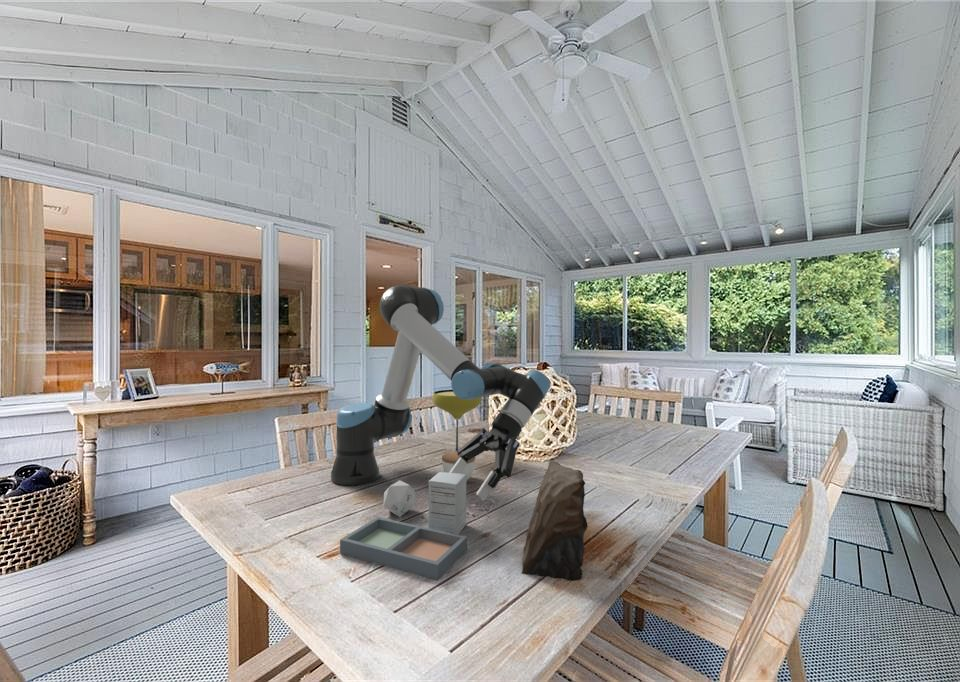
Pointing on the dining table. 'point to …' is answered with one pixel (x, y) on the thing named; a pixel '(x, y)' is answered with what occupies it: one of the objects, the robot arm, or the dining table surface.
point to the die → (399, 498)
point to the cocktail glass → (454, 405)
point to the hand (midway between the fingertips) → (463, 489)
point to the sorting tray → (405, 547)
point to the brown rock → (557, 526)
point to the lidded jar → (451, 459)
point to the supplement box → (447, 502)
